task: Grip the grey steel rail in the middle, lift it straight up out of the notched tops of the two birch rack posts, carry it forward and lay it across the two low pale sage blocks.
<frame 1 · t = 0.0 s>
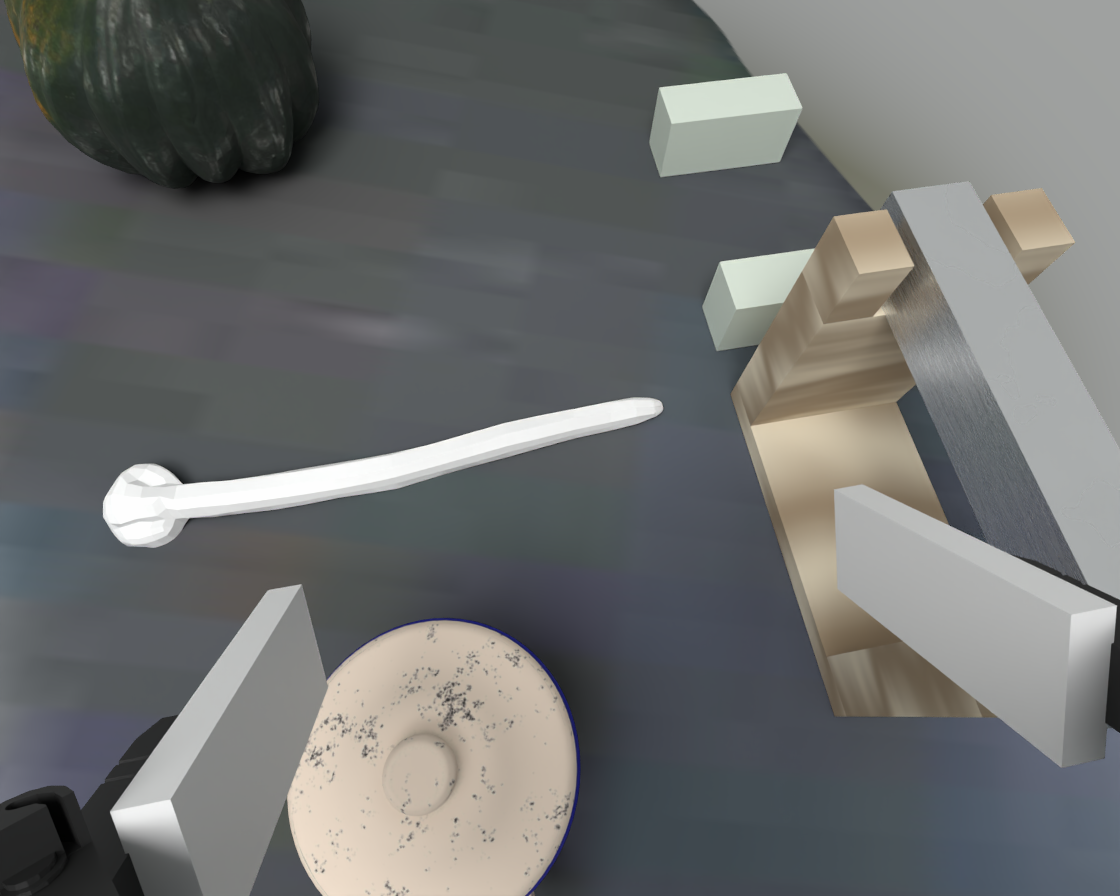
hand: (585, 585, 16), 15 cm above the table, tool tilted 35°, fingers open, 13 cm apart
teacup with lid: (480, 784, 28), on the table
squash: (226, 139, 42), on the table
rail: (986, 444, 23), point 10 cm above the table, touching rack
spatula: (402, 455, 34), on the table
rack: (853, 525, 32), on the table
rest: (743, 230, 39), on the table
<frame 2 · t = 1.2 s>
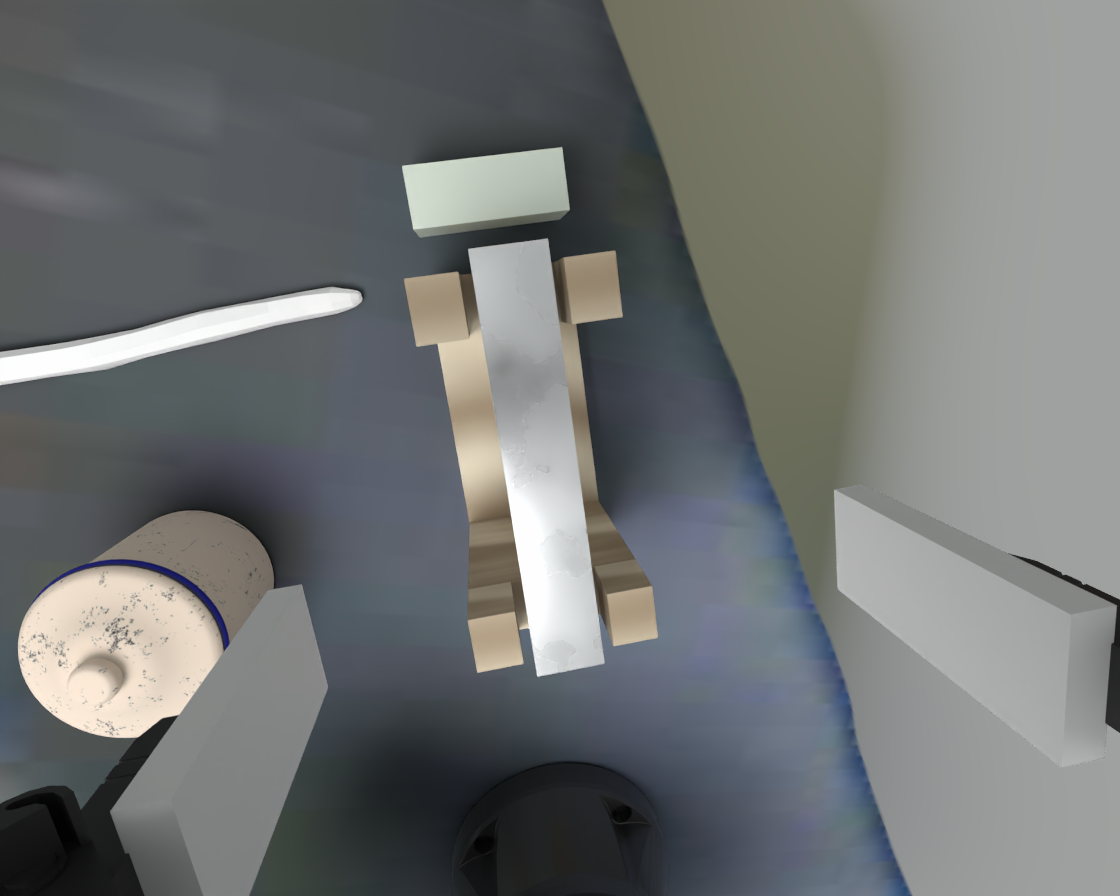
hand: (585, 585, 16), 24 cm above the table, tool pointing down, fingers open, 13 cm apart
teacup with lid: (215, 594, 39), on the table
rail: (535, 457, 29), point 10 cm above the table, touching rack
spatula: (108, 330, 36), on the table
rack: (519, 417, 39), on the table
rest: (466, 73, 35), on the table
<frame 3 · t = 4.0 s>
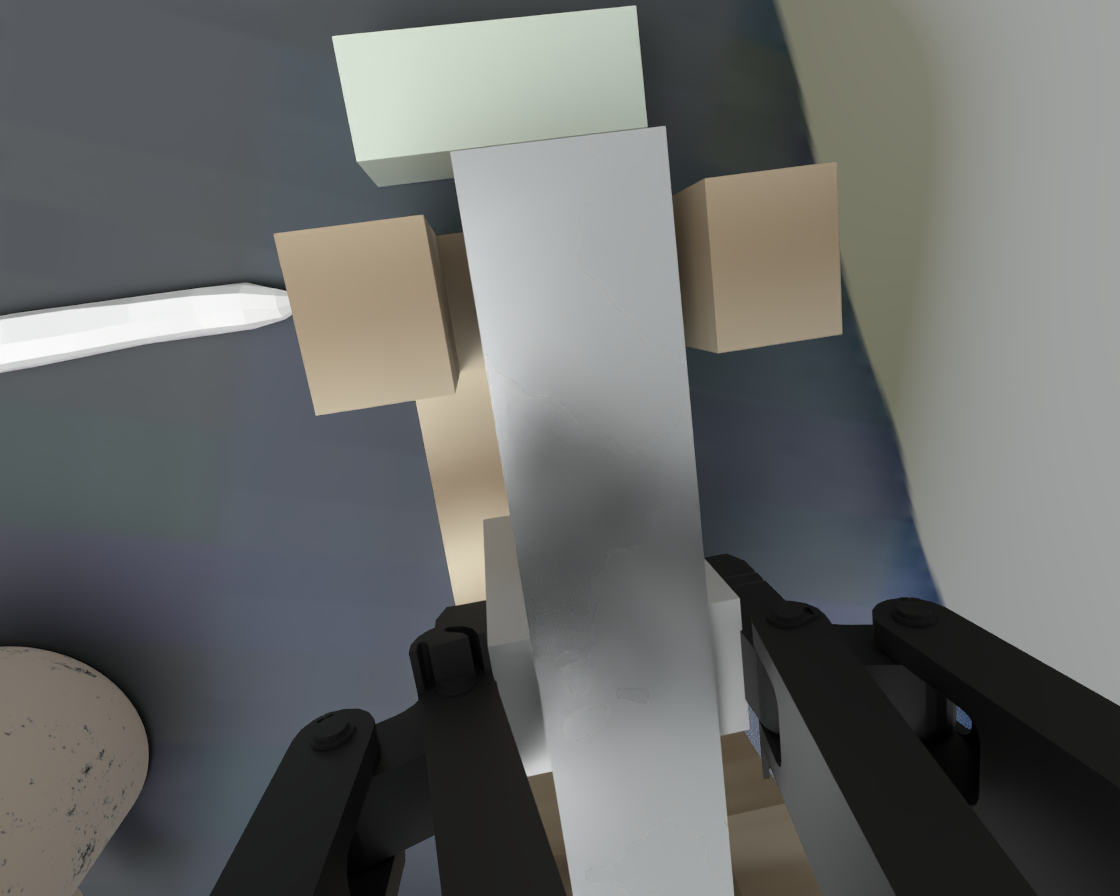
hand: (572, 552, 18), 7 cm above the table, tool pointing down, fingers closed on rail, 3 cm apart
teacup with lid: (55, 772, 24), on the table
rail: (598, 621, 14), point 11 cm above the table, touching gripper, rack
rack: (546, 485, 24), on the table
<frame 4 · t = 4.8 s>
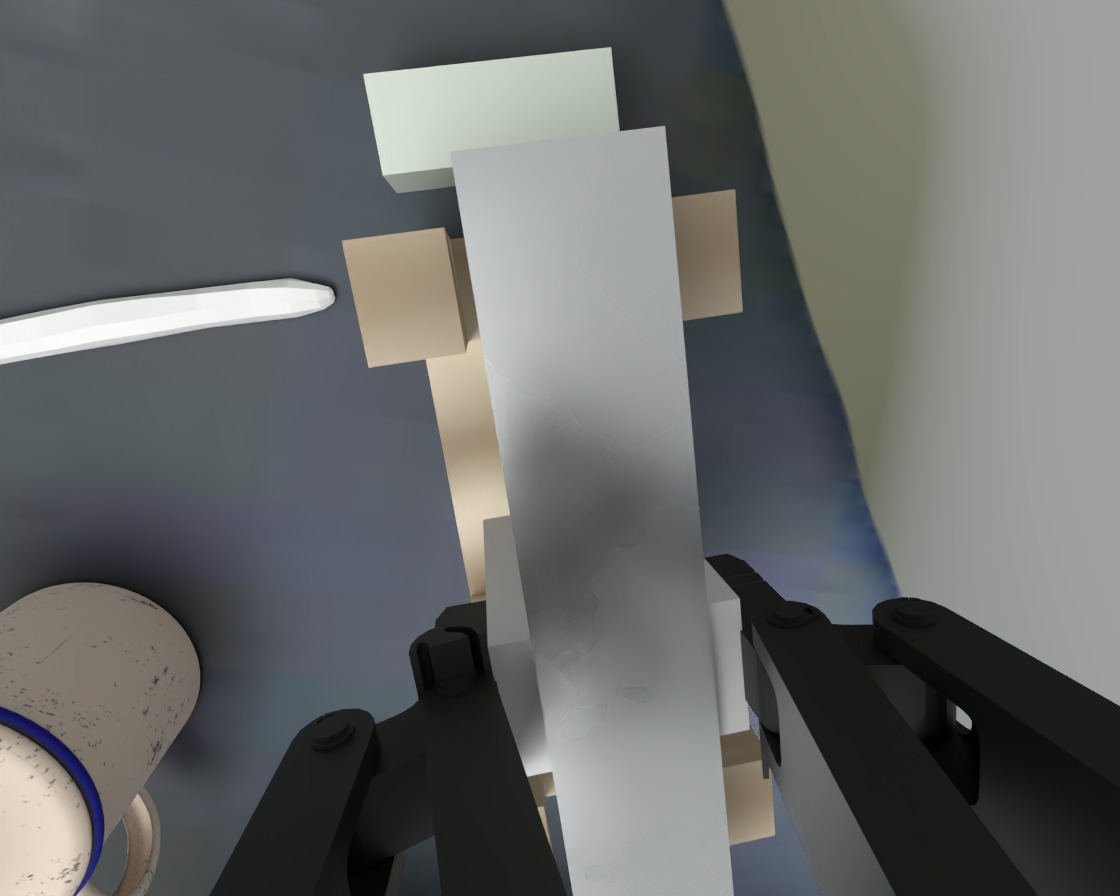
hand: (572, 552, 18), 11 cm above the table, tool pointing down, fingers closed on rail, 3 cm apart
teacup with lid: (120, 692, 28), on the table
rail: (598, 620, 14), point 15 cm above the table, touching gripper
rack: (539, 448, 28), on the table
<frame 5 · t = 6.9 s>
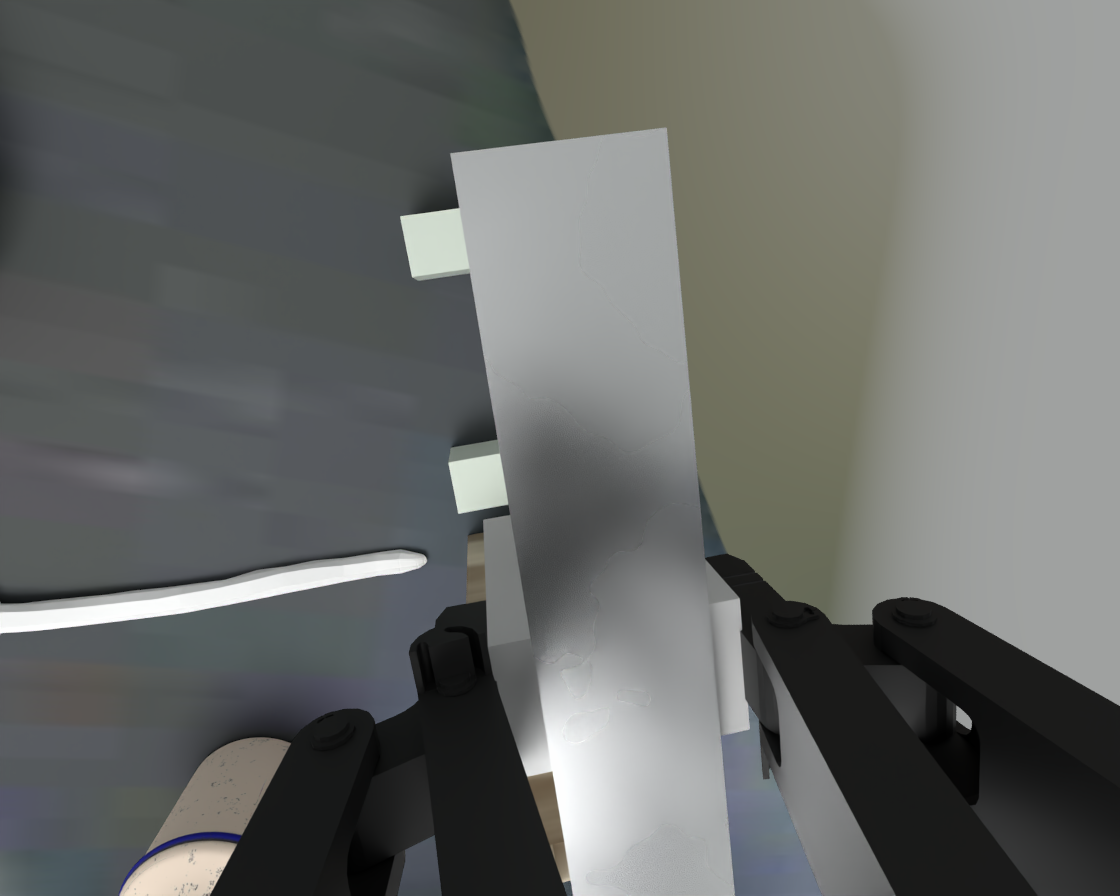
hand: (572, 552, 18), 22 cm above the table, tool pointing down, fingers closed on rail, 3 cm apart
teacup with lid: (274, 805, 43), on the table
rail: (599, 623, 14), point 26 cm above the table, touching gripper
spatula: (195, 573, 39), on the table
rack: (549, 639, 43), on the table
rest: (501, 355, 38), on the table
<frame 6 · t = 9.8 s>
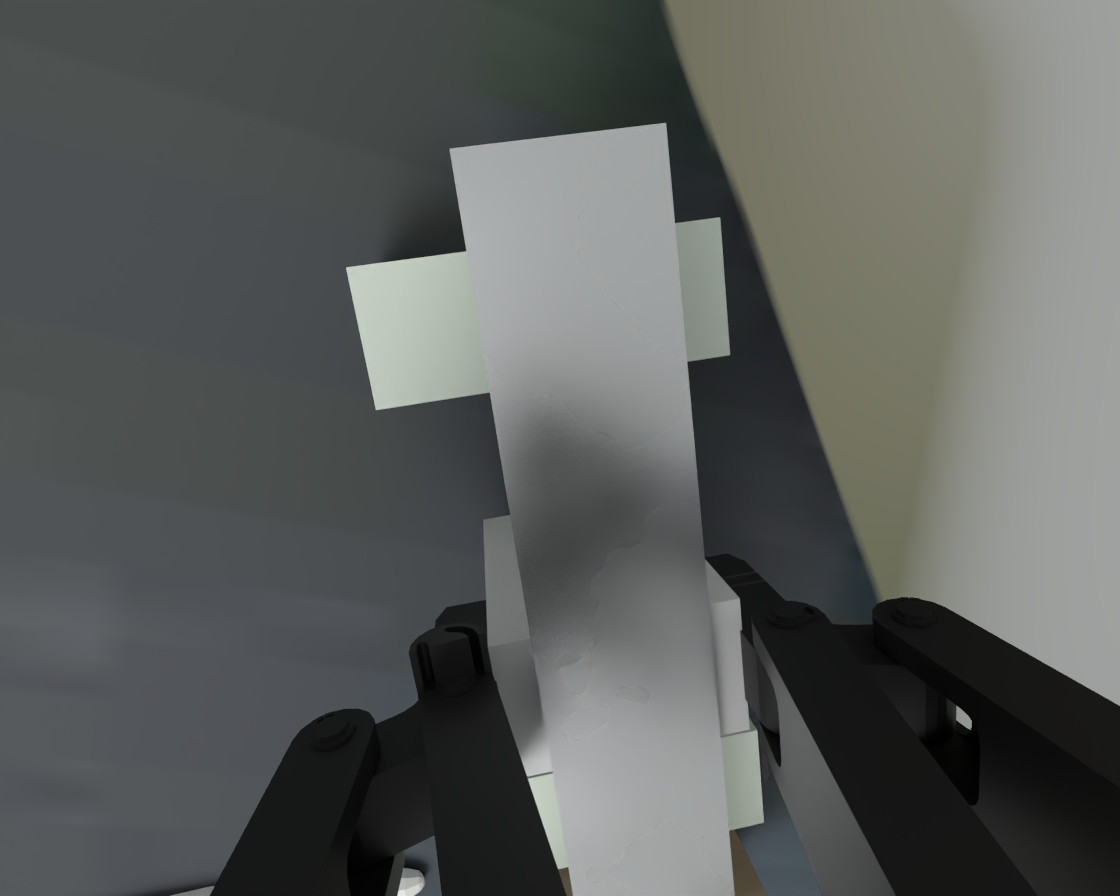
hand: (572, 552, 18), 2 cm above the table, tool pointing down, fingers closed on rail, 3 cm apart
rail: (598, 621, 14), point 6 cm above the table, touching gripper
rest: (563, 528, 19), on the table
when the fingers open (2 cm above the table, at t = 10.1 s): rail drops 2 cm, resting on rest.
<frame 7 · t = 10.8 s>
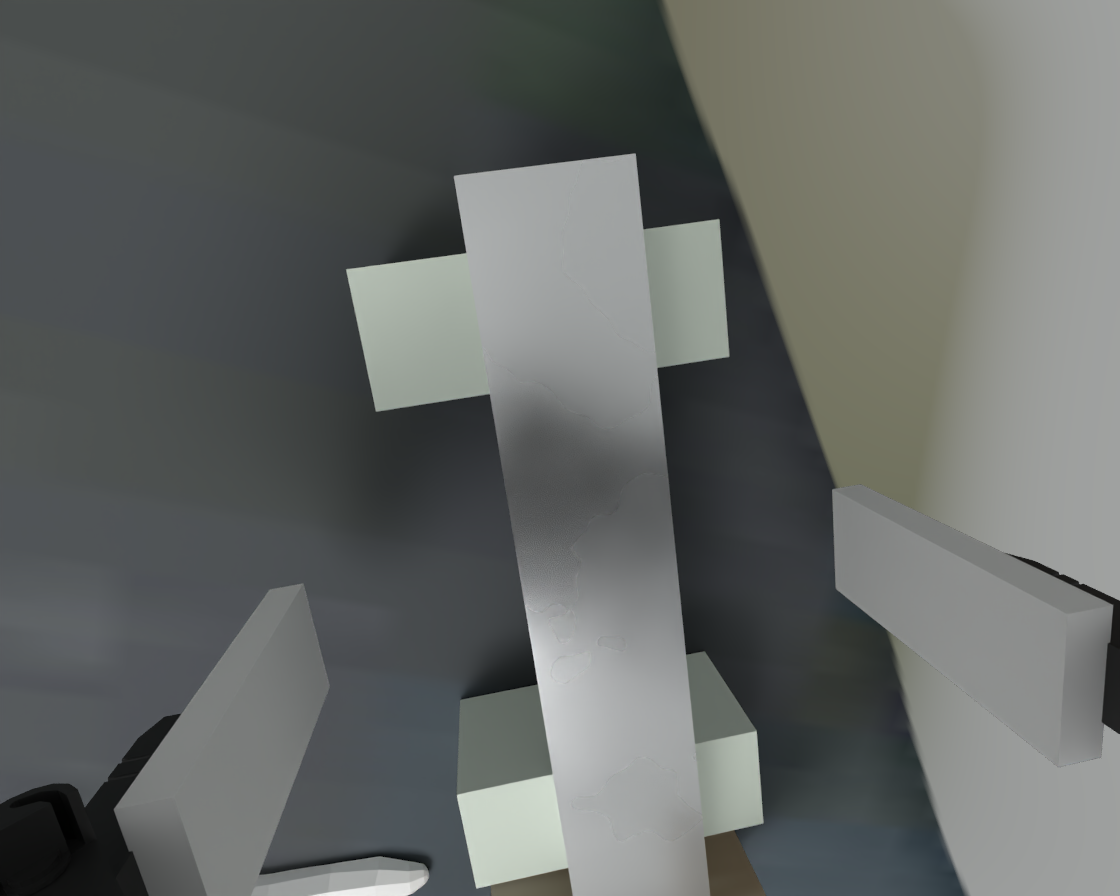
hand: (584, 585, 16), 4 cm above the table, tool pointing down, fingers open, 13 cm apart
rail: (585, 587, 15), point 4 cm above the table, touching rest
rest: (563, 529, 19), on the table
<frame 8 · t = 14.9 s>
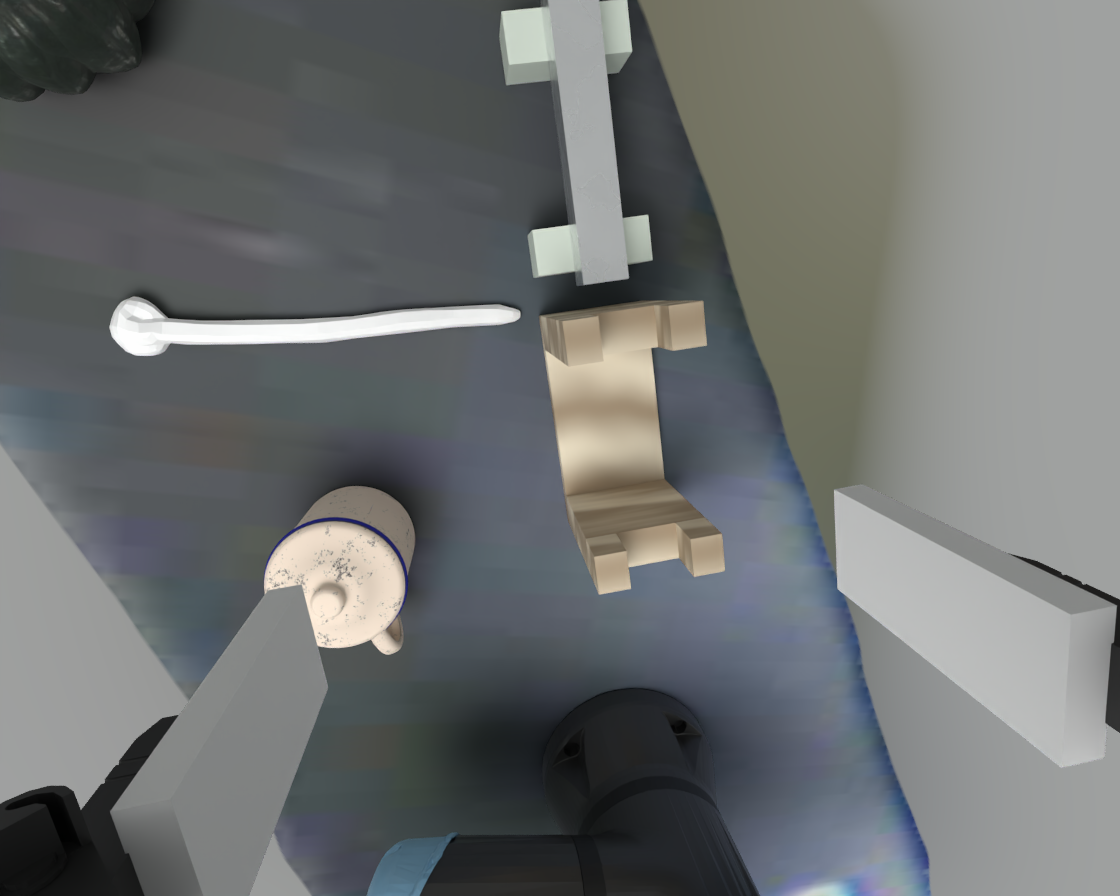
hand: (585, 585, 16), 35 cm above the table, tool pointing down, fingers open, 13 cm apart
teacup with lid: (369, 551, 51), on the table
rail: (581, 142, 42), point 4 cm above the table, touching rest
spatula: (327, 313, 47), on the table
rack: (604, 414, 50), on the table
rest: (572, 155, 46), on the table
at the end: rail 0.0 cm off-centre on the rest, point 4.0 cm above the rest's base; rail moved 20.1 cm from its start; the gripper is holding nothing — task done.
